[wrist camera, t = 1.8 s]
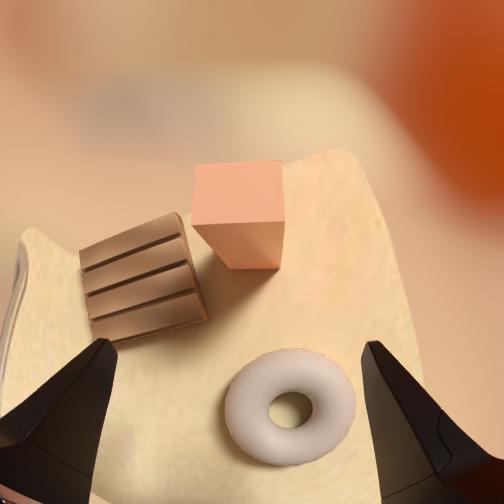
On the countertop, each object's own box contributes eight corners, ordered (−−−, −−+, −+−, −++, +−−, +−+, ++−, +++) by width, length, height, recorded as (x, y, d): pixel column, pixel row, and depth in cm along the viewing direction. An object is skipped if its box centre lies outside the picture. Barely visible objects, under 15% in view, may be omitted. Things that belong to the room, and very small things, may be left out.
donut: (238, 459, 19) (354, 442, 18) (231, 478, 16) (364, 459, 15) (220, 354, 21) (343, 335, 21) (209, 359, 18) (354, 337, 17)
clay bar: (280, 268, 22) (284, 221, 12) (230, 269, 23) (191, 225, 12) (279, 232, 23) (281, 160, 12) (230, 233, 23) (195, 165, 13)
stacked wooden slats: (208, 319, 22) (202, 319, 20) (108, 345, 22) (95, 347, 20) (181, 218, 24) (173, 209, 22) (91, 253, 24) (78, 248, 22)
